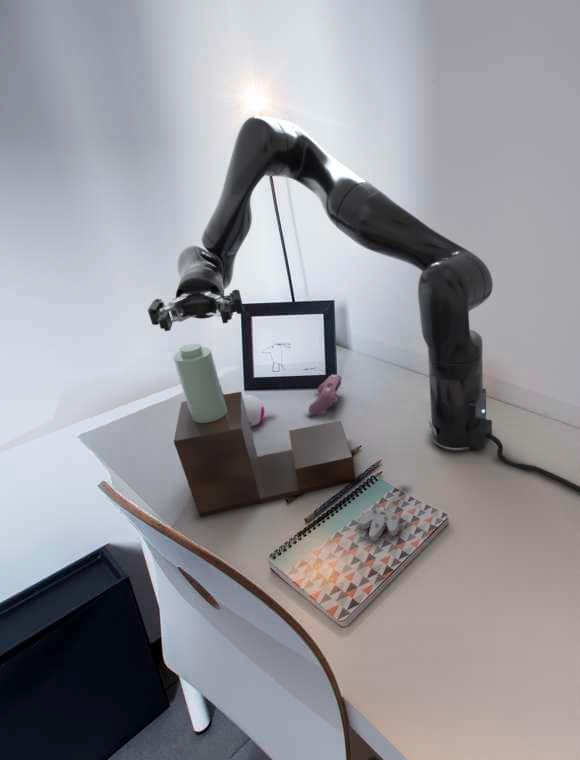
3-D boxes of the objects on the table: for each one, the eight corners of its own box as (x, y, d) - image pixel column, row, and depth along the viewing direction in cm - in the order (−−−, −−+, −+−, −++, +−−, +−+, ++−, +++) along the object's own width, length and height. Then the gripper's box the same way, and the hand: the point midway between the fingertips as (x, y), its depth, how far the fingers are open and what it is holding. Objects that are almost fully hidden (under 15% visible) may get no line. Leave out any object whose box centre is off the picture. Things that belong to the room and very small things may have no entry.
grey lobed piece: (358, 542, 75) (355, 528, 74) (368, 491, 85) (366, 478, 84) (397, 541, 75) (396, 527, 74) (404, 490, 85) (402, 477, 84)
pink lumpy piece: (327, 422, 106) (339, 395, 103) (306, 414, 106) (316, 386, 102) (337, 398, 115) (348, 372, 112) (317, 390, 114) (327, 364, 111)
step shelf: (344, 443, 97) (333, 375, 90) (356, 481, 87) (345, 408, 80) (204, 472, 90) (181, 401, 84) (199, 517, 81) (173, 441, 74)
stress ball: (266, 443, 104) (281, 415, 102) (225, 432, 99) (240, 403, 97) (261, 423, 110) (275, 396, 108) (222, 412, 105) (236, 384, 103)
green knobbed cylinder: (234, 409, 81) (216, 342, 76) (210, 425, 77) (190, 356, 72) (209, 403, 83) (190, 338, 77) (184, 419, 79) (162, 352, 73)
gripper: (152, 275, 93) (137, 304, 79) (237, 266, 97) (237, 292, 83) (164, 316, 96) (152, 350, 83) (246, 305, 100) (247, 336, 87)
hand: (195, 321), depth 83 cm, fingers open, 8 cm apart
